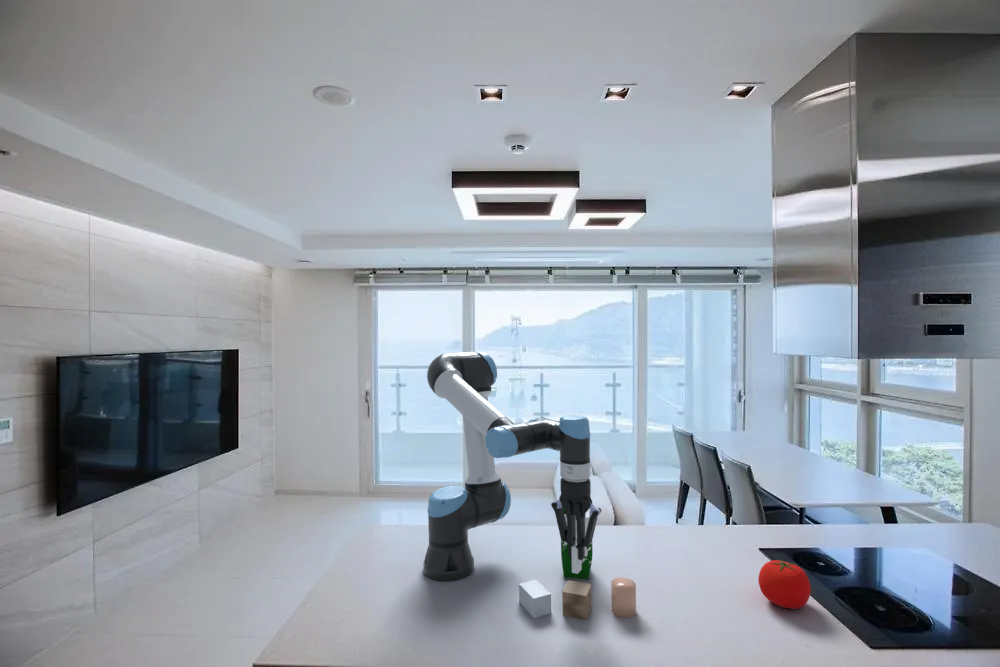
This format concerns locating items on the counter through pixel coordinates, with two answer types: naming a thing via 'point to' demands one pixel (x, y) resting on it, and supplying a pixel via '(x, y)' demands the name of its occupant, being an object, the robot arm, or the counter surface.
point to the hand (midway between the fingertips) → (576, 570)
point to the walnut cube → (577, 599)
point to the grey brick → (535, 598)
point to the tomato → (784, 584)
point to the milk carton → (568, 561)
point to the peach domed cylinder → (623, 597)
